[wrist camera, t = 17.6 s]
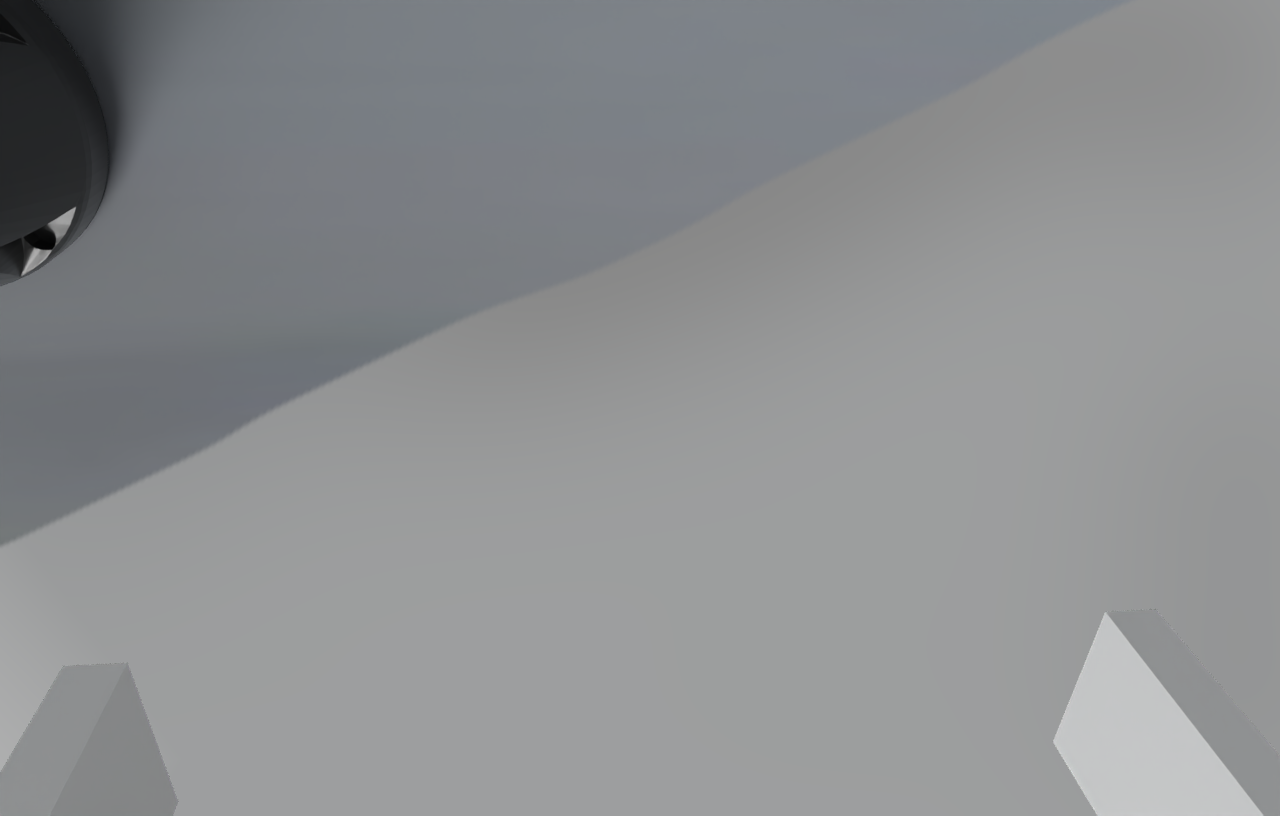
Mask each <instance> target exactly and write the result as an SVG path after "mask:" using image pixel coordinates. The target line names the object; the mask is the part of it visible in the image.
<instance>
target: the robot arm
mask: <svg viewBox="0 0 1280 816" xmlns="http://www.w3.org/2000/svg"><path fill="white" fill-rule="evenodd" d="M107 173H108V140H107V134H106V128H105V123H104V119H103V115H102V111H101V108H100V105H99V102H98V99H97V96H96V94H95V91H94V89H93V86H92V84H91V82H90V80H89V78H88V76H87V74H86V72H85V70H84V68H83V66H82V64H81V63H80V61H79V59H78V58H77V56H76V54H75V53H74V51H73V50H72V48H71V47H70V45H69V44H68V42H67V41H66V40H65V38H64V37H63V35H62V34H61V33H60V32H59V30H58V29H57V28H56V27H55V25H54V24H53V23H52V22H51V21H50V19H49V18H48V17H47V16H46V15H45V14H44V13H43V12H42V11H41V10H40V8H39V7H38V6H37V5H36V4H35V3H34V2H33V1H32V0H0V286H2V285H5V284H8V283H11V282H13V281H16V280H18V279H20V278H23V277H25V276H27V275H29V274H31V273H33V272H35V271H36V270H38V269H40V268H41V267H43V266H44V265H46V264H47V263H49V262H50V261H51V260H52V259H53V258H55V257H56V256H57V255H58V254H60V253H61V252H62V251H63V250H65V249H66V248H67V247H68V246H70V245H71V244H72V243H73V242H74V241H75V240H76V239H77V238H78V237H79V236H80V235H81V234H82V233H83V231H84V230H85V229H86V228H87V226H88V225H89V223H90V222H91V220H92V219H93V217H94V215H95V213H96V211H97V209H98V207H99V205H100V202H101V199H102V196H103V193H104V190H105V185H106V180H107ZM1053 743H1054V744H1055V746H1056V748H1057V749H1058V751H1059V752H1060V754H1061V756H1062V758H1063V759H1064V761H1065V763H1066V764H1067V766H1068V768H1069V769H1070V771H1071V773H1072V774H1073V776H1074V778H1075V779H1076V781H1077V783H1078V784H1079V786H1080V788H1081V789H1082V791H1083V793H1084V794H1085V796H1086V798H1087V799H1088V801H1089V802H1090V804H1091V806H1092V808H1093V809H1094V811H1095V813H1096V814H1097V816H1280V755H1279V754H1278V753H1277V751H1276V750H1275V749H1274V748H1273V747H1272V746H1271V745H1270V743H1269V742H1268V741H1267V740H1266V738H1265V737H1264V736H1263V735H1262V734H1261V733H1260V731H1259V730H1258V729H1257V728H1256V727H1255V725H1254V724H1253V723H1252V722H1251V721H1250V720H1249V718H1248V717H1247V716H1246V715H1245V714H1244V712H1243V711H1242V710H1241V709H1240V708H1239V707H1238V705H1237V704H1236V703H1235V702H1234V701H1233V699H1232V698H1231V697H1230V696H1229V695H1228V694H1227V692H1226V691H1225V690H1224V689H1223V688H1222V687H1221V685H1220V684H1219V683H1218V682H1217V681H1216V679H1215V678H1214V677H1213V676H1212V675H1211V674H1210V672H1209V671H1208V670H1207V669H1206V668H1205V666H1204V665H1203V664H1202V663H1201V662H1200V661H1199V659H1198V658H1197V657H1196V656H1195V655H1194V653H1193V652H1192V651H1191V650H1190V649H1189V648H1188V646H1187V645H1186V644H1185V643H1184V642H1183V641H1182V640H1181V638H1180V637H1179V636H1178V635H1177V634H1176V632H1175V631H1174V630H1173V629H1172V628H1171V626H1170V625H1169V624H1168V623H1167V622H1166V621H1165V619H1164V618H1163V617H1162V616H1161V615H1160V613H1159V612H1158V611H1157V610H1156V609H1149V610H1131V611H1111V612H1105V614H1104V617H1103V619H1102V622H1101V624H1100V626H1099V629H1098V632H1097V634H1096V636H1095V639H1094V641H1093V644H1092V647H1091V649H1090V651H1089V654H1088V656H1087V659H1086V661H1085V664H1084V666H1083V669H1082V671H1081V674H1080V676H1079V679H1078V681H1077V684H1076V686H1075V688H1074V691H1073V693H1072V696H1071V698H1070V701H1069V703H1068V706H1067V708H1066V711H1065V714H1064V716H1063V718H1062V721H1061V723H1060V726H1059V728H1058V731H1057V733H1056V736H1055V738H1054V741H1053ZM177 803H178V799H177V797H176V794H175V791H174V788H173V786H172V783H171V780H170V778H169V775H168V772H167V770H166V767H165V764H164V761H163V759H162V756H161V753H160V750H159V747H158V745H157V742H156V739H155V737H154V734H153V731H152V728H151V725H150V723H149V720H148V717H147V714H146V712H145V709H144V706H143V704H142V701H141V698H140V695H139V693H138V690H137V687H136V684H135V682H134V679H133V676H132V673H131V671H130V668H129V665H128V663H115V664H96V665H76V666H63V667H62V669H61V671H60V672H59V674H58V676H57V677H56V679H55V681H54V682H53V684H52V686H51V687H50V689H49V691H48V693H47V694H46V696H45V698H44V699H43V701H42V703H41V704H40V706H39V708H38V710H37V711H36V713H35V715H34V716H33V718H32V720H31V721H30V723H29V725H28V727H27V728H26V730H25V732H24V733H23V735H22V737H21V738H20V740H19V742H18V743H17V745H16V747H15V748H14V750H13V752H12V754H11V756H10V757H9V759H8V760H7V762H6V764H5V765H4V767H3V769H2V770H1V772H0V816H173V814H174V811H175V809H176V806H177Z"/></svg>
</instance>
